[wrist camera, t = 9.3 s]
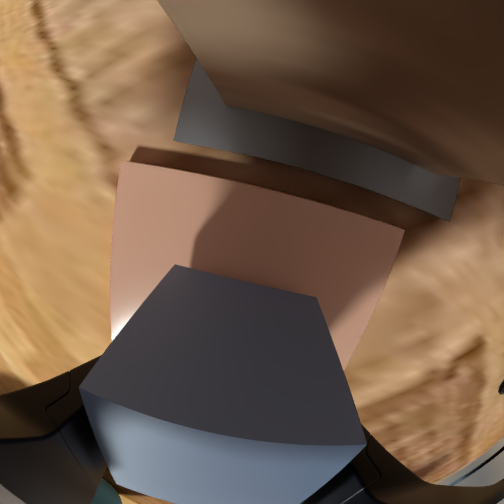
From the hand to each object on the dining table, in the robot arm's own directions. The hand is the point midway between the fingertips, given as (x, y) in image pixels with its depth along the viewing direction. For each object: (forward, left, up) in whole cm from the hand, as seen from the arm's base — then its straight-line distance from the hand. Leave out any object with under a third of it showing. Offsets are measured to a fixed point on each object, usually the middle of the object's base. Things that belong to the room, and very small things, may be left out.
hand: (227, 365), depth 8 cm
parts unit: (-2, -13, -3) cm, 13 cm away
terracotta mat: (0, 0, -3) cm, 3 cm away
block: (0, 0, -2) cm, 2 cm away
